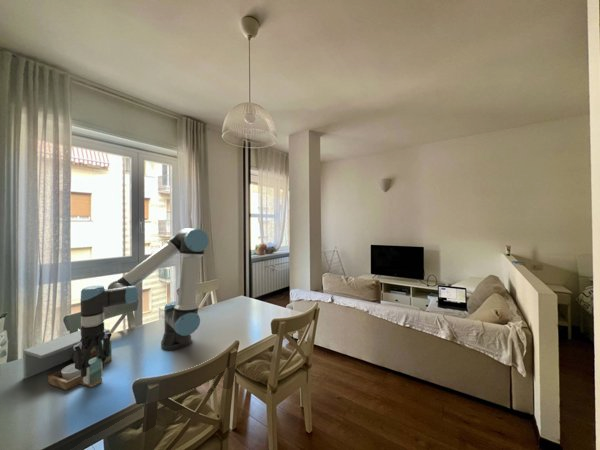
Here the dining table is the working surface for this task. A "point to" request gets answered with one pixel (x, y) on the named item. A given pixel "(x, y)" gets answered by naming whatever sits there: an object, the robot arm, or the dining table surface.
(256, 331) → the dining table surface
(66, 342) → the shelf
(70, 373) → the ramekin
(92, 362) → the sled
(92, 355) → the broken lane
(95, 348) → the oak cube
